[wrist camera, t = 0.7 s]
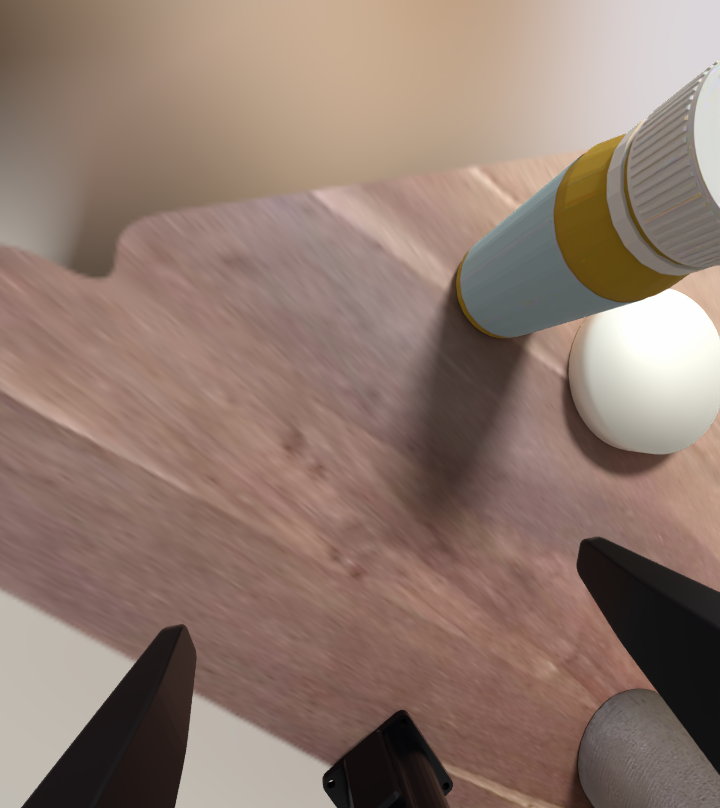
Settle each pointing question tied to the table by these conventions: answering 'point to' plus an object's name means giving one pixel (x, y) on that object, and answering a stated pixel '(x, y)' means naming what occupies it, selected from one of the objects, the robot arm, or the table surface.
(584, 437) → the table surface
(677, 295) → the round base
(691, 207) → the bottle
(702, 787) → the pillar candle
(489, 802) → the table surface
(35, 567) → the table surface
